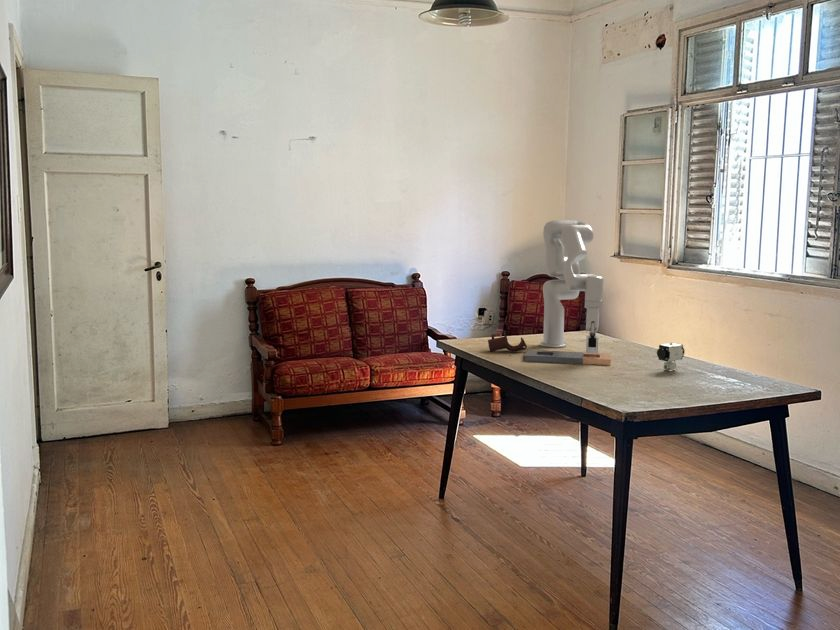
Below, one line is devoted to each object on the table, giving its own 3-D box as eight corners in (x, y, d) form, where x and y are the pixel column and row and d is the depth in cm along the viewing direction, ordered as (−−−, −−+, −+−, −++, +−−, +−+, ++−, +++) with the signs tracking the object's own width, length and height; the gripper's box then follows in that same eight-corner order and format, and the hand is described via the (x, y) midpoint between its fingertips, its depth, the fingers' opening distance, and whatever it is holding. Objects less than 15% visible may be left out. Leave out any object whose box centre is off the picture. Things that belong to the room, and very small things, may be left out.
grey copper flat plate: (527, 355, 363) (527, 349, 363) (609, 359, 356) (610, 353, 355) (525, 361, 349) (525, 355, 349) (610, 365, 342) (610, 359, 342)
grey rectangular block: (586, 351, 353) (586, 335, 352) (597, 351, 352) (598, 335, 351) (585, 353, 348) (586, 337, 347) (597, 353, 347) (598, 337, 346)
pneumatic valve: (655, 371, 332) (656, 342, 330) (674, 368, 338) (676, 340, 336) (665, 373, 327) (667, 344, 325) (685, 370, 333) (687, 342, 331)
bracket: (527, 347, 366) (523, 326, 368) (490, 354, 367) (486, 333, 370) (527, 350, 372) (523, 329, 374) (491, 357, 373) (487, 336, 375)
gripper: (584, 301, 356) (583, 342, 358) (584, 306, 339) (583, 349, 342) (602, 302, 354) (600, 343, 357) (602, 307, 338) (601, 349, 340)
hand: (592, 345), depth 349 cm, fingers closed on grey rectangular block, 5 cm apart
